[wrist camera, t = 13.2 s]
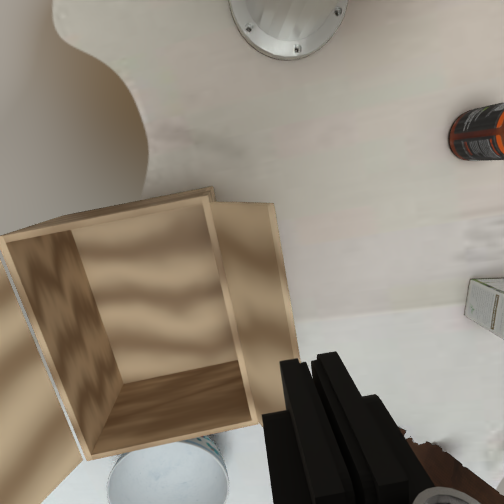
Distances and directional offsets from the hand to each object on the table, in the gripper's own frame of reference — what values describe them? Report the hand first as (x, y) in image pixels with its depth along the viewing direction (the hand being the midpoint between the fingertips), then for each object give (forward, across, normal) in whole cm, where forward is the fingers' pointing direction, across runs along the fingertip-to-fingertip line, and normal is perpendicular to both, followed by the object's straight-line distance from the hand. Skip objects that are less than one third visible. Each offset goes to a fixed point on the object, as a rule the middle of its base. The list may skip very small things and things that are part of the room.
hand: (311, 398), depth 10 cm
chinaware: (+32, +15, +32) cm, 47 cm away
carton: (+32, +12, +8) cm, 35 cm away
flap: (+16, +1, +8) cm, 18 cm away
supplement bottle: (+33, -28, -5) cm, 44 cm away
